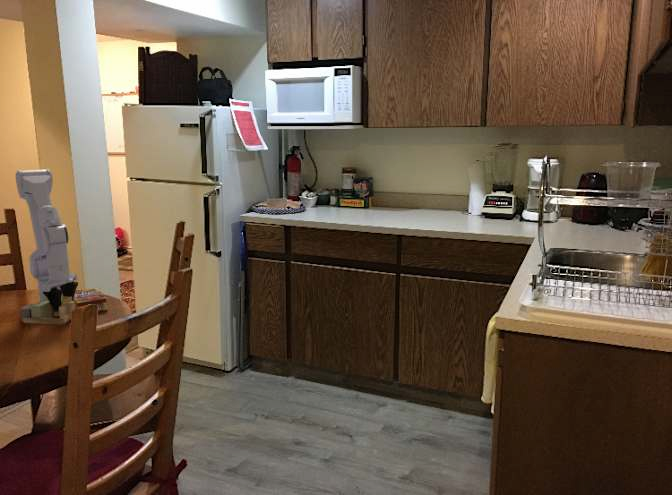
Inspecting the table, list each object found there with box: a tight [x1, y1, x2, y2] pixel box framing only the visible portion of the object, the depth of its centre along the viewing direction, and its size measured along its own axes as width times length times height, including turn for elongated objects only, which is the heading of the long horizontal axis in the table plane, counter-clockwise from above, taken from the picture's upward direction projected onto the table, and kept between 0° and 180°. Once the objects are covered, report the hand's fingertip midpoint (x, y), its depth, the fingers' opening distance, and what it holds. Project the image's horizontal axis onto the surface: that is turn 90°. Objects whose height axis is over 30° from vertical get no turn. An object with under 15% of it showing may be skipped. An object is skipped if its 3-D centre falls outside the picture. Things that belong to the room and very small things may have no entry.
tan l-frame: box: [22, 301, 75, 325], centre depth 173 cm, size 7×13×5 cm, turn 81°
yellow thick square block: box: [53, 296, 72, 317], centre depth 178 cm, size 5×3×5 cm, turn 171°
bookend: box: [19, 303, 35, 322], centre depth 174 cm, size 5×3×4 cm, turn 171°
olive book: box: [31, 300, 53, 318], centre depth 174 cm, size 5×3×5 cm, turn 171°
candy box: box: [73, 287, 108, 312], centre depth 186 cm, size 9×4×15 cm
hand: (63, 308), depth 178 cm, fingers open, 5 cm apart
